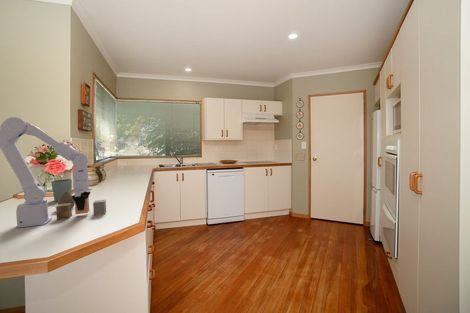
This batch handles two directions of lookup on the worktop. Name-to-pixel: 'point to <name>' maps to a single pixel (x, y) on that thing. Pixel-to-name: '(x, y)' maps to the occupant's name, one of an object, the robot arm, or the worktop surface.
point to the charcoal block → (99, 207)
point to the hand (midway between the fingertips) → (82, 208)
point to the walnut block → (64, 211)
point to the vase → (66, 199)
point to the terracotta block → (86, 208)
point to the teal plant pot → (61, 187)
